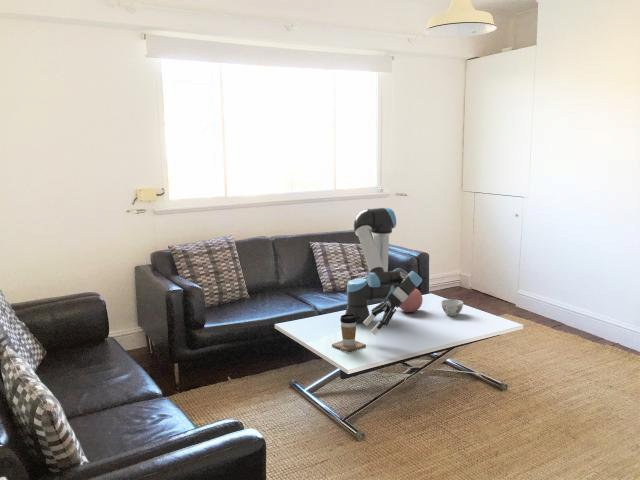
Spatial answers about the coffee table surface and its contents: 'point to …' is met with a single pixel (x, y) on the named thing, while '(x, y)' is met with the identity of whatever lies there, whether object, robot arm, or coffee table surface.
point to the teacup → (452, 307)
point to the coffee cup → (348, 329)
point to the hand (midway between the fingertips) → (368, 328)
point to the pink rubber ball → (412, 302)
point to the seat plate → (349, 348)
